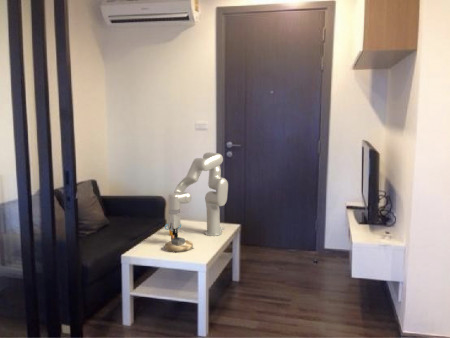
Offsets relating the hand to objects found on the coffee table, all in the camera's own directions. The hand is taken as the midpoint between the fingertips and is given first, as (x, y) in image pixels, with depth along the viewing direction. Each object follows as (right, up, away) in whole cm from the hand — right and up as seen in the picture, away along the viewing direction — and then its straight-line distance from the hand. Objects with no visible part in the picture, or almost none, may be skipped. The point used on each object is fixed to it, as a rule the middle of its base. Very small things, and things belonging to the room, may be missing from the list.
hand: (175, 237), depth 294 cm
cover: (+3, -2, -11) cm, 12 cm away
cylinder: (-4, -1, +21) cm, 22 cm away
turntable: (+4, -5, -11) cm, 12 cm away
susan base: (+4, -5, -11) cm, 12 cm away
